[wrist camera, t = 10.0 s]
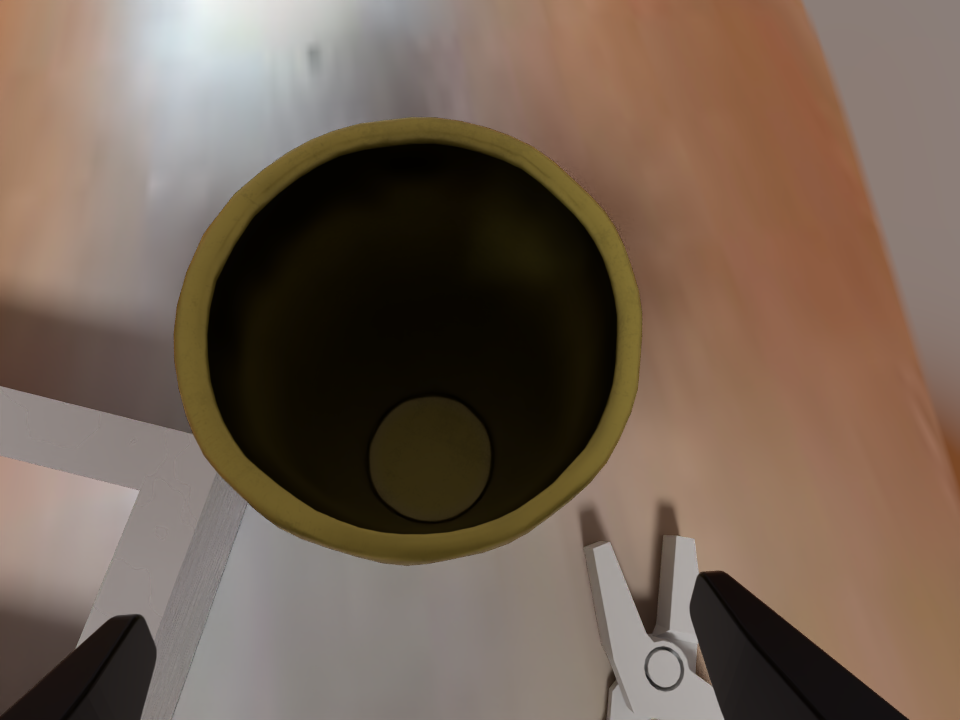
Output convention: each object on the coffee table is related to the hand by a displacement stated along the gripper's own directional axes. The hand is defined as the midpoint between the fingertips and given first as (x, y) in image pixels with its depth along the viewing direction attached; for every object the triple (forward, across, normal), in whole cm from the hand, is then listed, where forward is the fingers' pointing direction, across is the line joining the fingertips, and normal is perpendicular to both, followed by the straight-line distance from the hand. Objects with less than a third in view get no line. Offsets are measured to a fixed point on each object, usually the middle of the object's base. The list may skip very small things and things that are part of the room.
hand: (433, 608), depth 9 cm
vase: (+10, 0, +5) cm, 11 cm away
